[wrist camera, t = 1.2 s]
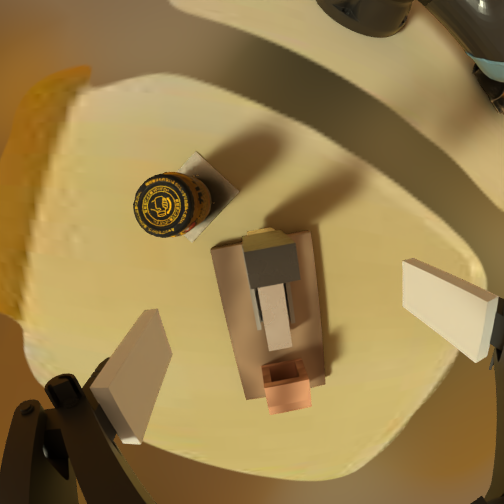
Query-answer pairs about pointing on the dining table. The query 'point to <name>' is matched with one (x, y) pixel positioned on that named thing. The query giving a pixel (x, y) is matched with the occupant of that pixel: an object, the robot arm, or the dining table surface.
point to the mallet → (272, 279)
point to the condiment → (182, 200)
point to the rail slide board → (254, 336)
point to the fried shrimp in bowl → (491, 89)
